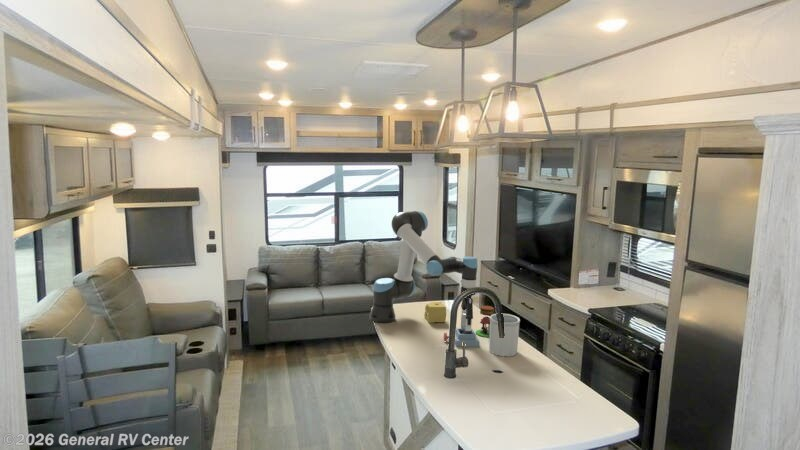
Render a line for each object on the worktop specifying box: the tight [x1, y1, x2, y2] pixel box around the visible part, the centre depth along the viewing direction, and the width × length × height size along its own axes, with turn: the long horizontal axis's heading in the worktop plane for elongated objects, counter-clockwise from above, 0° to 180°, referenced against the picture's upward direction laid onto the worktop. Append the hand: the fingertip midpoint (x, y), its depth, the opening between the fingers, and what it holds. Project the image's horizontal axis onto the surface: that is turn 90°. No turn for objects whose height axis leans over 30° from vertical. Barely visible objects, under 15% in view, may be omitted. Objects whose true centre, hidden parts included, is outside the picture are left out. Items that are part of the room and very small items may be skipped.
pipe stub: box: [460, 312, 470, 334], centre depth 257 cm, size 5×5×12 cm
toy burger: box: [475, 305, 495, 338], centre depth 270 cm, size 12×13×15 cm
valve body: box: [443, 327, 480, 348], centre depth 258 cm, size 14×17×6 cm
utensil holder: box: [488, 313, 521, 357], centre depth 246 cm, size 15×15×18 cm
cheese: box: [423, 301, 447, 324], centre depth 290 cm, size 10×11×10 cm
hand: (465, 326), depth 257 cm, fingers open, 13 cm apart
